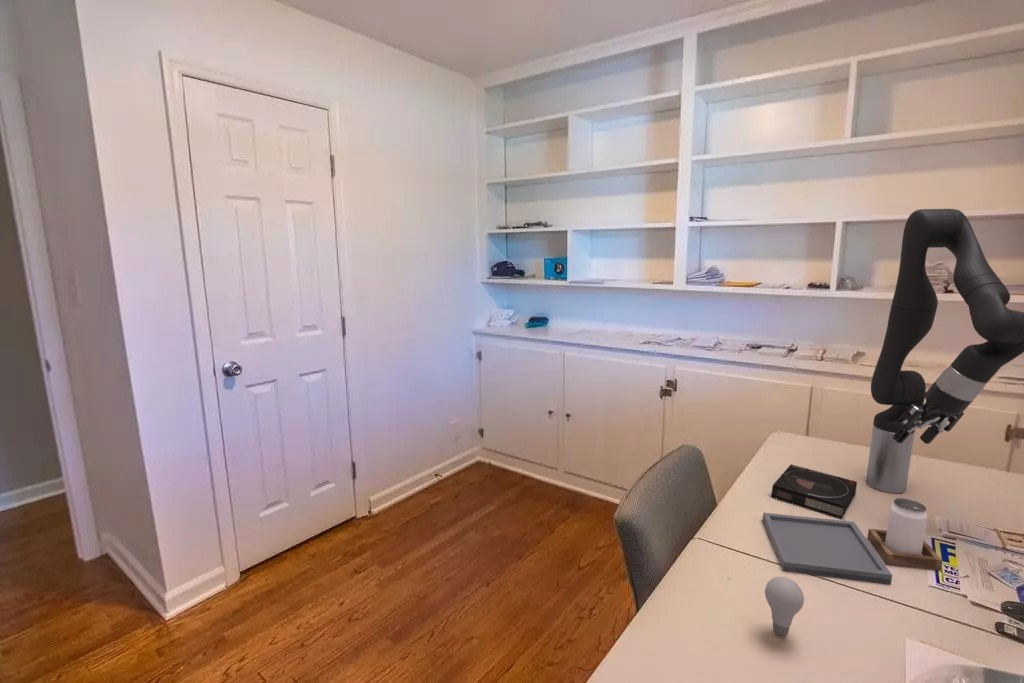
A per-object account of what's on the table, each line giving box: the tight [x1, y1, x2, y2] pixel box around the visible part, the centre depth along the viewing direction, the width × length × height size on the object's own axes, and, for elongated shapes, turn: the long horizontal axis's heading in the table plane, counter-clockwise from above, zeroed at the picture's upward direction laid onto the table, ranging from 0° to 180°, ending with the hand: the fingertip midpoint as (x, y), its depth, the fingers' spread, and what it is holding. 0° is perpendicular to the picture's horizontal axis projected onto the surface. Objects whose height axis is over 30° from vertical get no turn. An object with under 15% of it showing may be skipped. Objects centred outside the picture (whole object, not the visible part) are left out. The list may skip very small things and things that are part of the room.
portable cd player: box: [770, 463, 858, 520], centre depth 140 cm, size 16×17×4 cm
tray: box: [762, 512, 893, 585], centre depth 117 cm, size 20×20×2 cm
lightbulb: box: [764, 576, 805, 637], centre depth 92 cm, size 6×6×11 cm
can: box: [884, 497, 928, 556], centre depth 114 cm, size 6×6×12 cm
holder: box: [867, 528, 944, 572], centre depth 115 cm, size 10×10×2 cm
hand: (910, 441), depth 123 cm, fingers open, 8 cm apart
